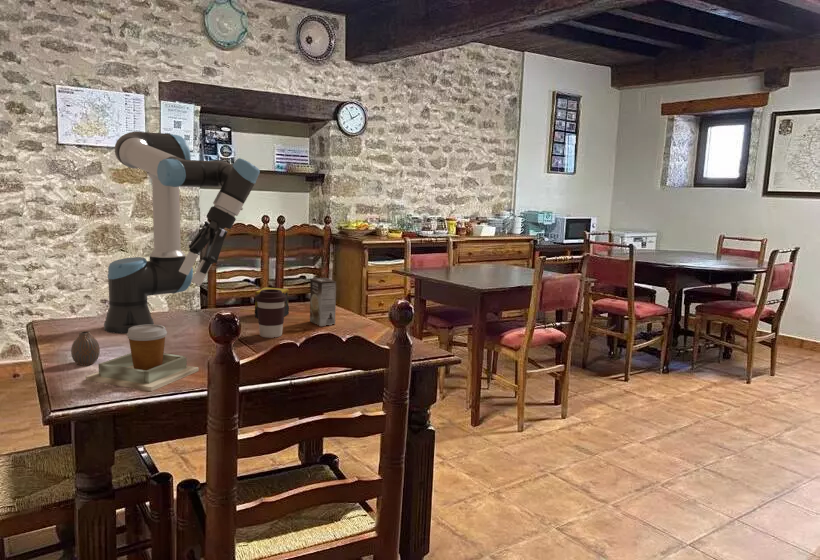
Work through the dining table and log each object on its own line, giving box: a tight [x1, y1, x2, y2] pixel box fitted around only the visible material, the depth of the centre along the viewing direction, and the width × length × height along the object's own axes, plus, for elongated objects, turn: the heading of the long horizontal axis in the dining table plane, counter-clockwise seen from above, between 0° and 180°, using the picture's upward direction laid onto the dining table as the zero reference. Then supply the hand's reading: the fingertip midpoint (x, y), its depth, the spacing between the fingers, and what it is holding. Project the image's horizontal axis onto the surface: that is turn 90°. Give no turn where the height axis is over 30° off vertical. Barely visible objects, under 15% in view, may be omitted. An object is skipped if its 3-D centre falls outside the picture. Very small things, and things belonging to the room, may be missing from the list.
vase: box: [70, 330, 101, 366], centre depth 172 cm, size 7×7×9 cm
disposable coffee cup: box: [126, 324, 168, 371], centre depth 161 cm, size 10×10×12 cm
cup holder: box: [85, 352, 200, 392], centre depth 164 cm, size 20×18×4 cm
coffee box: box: [309, 277, 337, 327], centre depth 229 cm, size 9×6×16 cm
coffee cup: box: [254, 289, 286, 339], centre depth 209 cm, size 10×10×15 cm
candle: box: [254, 287, 290, 319], centre depth 238 cm, size 10×10×10 cm
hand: (189, 278), depth 178 cm, fingers open, 13 cm apart
